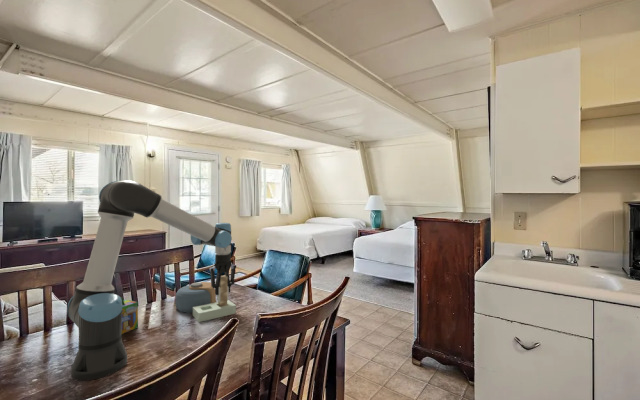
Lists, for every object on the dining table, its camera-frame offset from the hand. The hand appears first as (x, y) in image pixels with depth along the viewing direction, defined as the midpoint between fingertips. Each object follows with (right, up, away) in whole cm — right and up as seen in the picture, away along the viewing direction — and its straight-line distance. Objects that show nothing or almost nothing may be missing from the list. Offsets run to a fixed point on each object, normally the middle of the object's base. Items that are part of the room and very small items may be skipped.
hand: (222, 300), depth 150 cm
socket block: (-3, -6, -3) cm, 7 cm away
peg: (0, -4, 0) cm, 4 cm away
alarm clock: (-17, -6, +8) cm, 20 cm away
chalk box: (-37, -6, -21) cm, 43 cm away
